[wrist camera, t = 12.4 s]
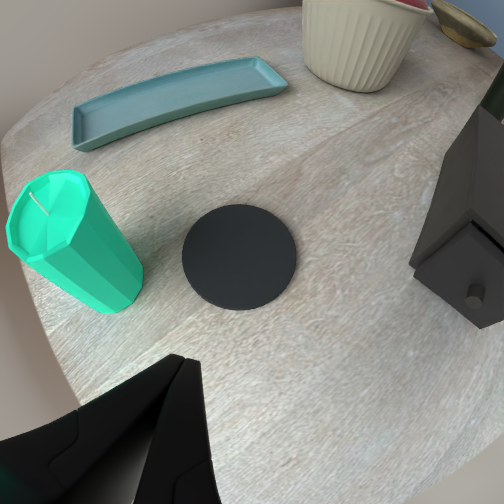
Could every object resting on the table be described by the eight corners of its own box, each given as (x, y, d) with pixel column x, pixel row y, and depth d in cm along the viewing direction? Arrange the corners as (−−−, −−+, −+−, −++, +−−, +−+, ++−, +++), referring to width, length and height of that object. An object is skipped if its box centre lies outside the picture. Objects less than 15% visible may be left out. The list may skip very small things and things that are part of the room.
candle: (69, 280, 22) (-18, 205, 11) (115, 233, 24) (54, 135, 13) (107, 329, 20) (8, 273, 9) (158, 276, 22) (98, 180, 12)
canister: (419, 111, 35) (470, 0, 16) (314, 109, 32) (349, -50, 13) (362, 52, 42) (387, -40, 23) (270, 48, 39) (281, -63, 20)
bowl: (425, 29, 61) (437, -2, 48) (423, 17, 72) (431, -8, 59) (493, 71, 57) (507, 43, 44) (480, 50, 68) (490, 27, 55)
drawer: (476, 340, 20) (537, 317, 13) (408, 287, 22) (464, 246, 15) (500, 205, 27) (534, 171, 20) (449, 162, 29) (479, 120, 22)
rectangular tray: (257, 66, 36) (258, 52, 34) (288, 97, 33) (291, 82, 31) (77, 120, 31) (71, 106, 28) (78, 163, 27) (70, 148, 25)
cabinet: (481, 322, 22) (550, 289, 13) (408, 264, 24) (471, 207, 15) (499, 200, 29) (538, 159, 20) (444, 154, 31) (478, 103, 22)
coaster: (273, 328, 21) (274, 326, 21) (164, 284, 22) (162, 281, 22) (308, 229, 25) (309, 225, 24) (211, 195, 26) (211, 191, 25)
